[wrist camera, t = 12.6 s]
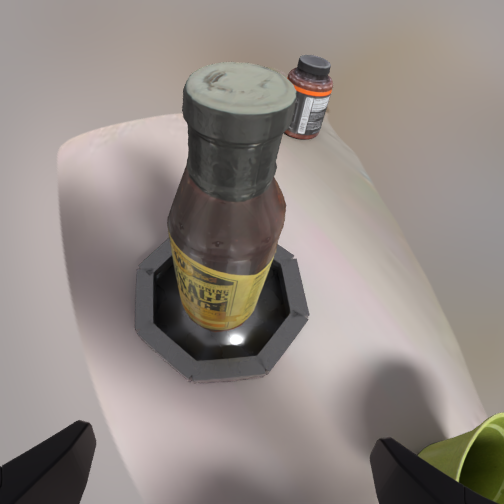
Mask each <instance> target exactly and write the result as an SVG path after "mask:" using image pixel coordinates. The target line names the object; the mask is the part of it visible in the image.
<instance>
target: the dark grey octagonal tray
mask: <svg viewBox="0 0 504 504" xmlns="http://www.w3.org/2000/svg"><path fill="white" fill-rule="evenodd" d="M293 257H294V255H293V254H291V253H290V252H288V251H287V250H285V249H284V248H282V247H281V246H279V245H278V244H277V249H276V252H275V255H274V258H273V261H272V263H271V266H270V269H269V272H268V274H267V277H266V280H265V282H264V285H263V287H262V290H261V293H260V295H259V298H258V301H257V303H256V306H255V309H254V311H253V313H252V314H251V315H250V317H249V318H248V319H247V320H246V321H245V322H244V323H243V324H242V325H241V326H239V327H237V328H234V329H231V330H229V331H223V332H212V331H209V330H206V329H204V328H202V327H201V326H199V325H197V324H196V323H194V322H193V321H192V320H191V319H190V318H189V315H188V314H187V313H186V311H185V309H184V307H183V305H182V302H181V297H180V293H179V288H178V283H177V279H176V274H175V268H174V264H173V256H172V251H171V246H170V240H169V238H168V239H167V240H166V241H165V242H164V243H163V244H162V245H160V246H159V247H158V248H157V249H156V250H155V251H154V252H153V253H152V254H151V255H149V256H148V257H147V258H146V259H145V260H144V261H143V262H142V263H141V264H140V265H139V268H140V269H137V275H136V302H135V330H136V331H137V334H138V335H139V337H140V338H141V339H142V340H143V341H144V342H145V343H146V344H147V345H148V346H149V347H151V348H152V349H153V350H154V351H155V352H156V353H157V354H158V355H159V356H160V357H161V358H163V359H164V360H165V361H166V362H167V363H168V364H169V365H170V366H172V367H173V368H174V369H175V370H176V371H177V372H179V373H180V374H181V375H182V376H183V377H184V378H186V379H187V380H188V381H189V382H191V381H192V379H193V382H194V384H197V383H211V382H230V381H236V380H244V379H253V378H261V377H263V376H264V375H265V374H266V375H267V374H268V373H269V372H270V371H271V369H272V368H273V367H274V365H275V364H276V363H277V361H278V360H279V359H280V358H281V356H282V355H283V354H284V352H285V351H286V350H287V348H288V347H289V346H290V344H291V343H292V341H293V340H294V339H295V337H296V336H297V335H298V333H299V332H300V331H301V329H302V328H303V326H304V325H305V324H306V322H307V321H308V319H307V318H308V316H309V311H308V307H307V302H306V298H305V293H304V289H303V285H302V280H301V276H300V272H299V268H298V263H297V259H293Z"/></svg>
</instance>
